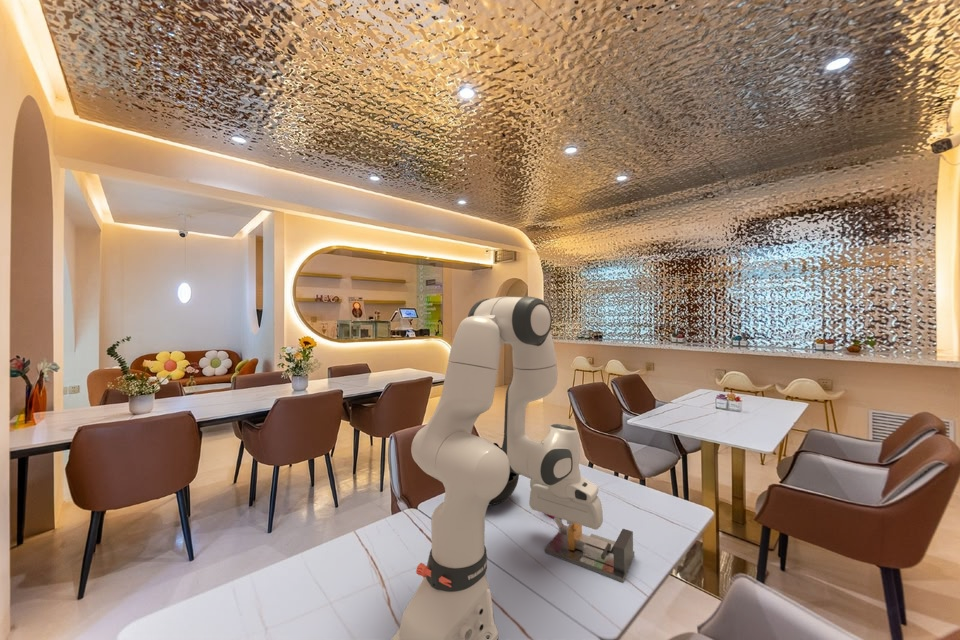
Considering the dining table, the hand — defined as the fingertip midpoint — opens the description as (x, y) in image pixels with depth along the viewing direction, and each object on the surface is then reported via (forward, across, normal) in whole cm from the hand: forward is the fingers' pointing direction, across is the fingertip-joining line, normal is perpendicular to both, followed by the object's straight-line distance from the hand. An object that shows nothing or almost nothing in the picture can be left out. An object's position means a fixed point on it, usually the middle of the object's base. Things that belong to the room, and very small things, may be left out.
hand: (564, 533), depth 101 cm
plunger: (+2, +8, -2) cm, 8 cm away
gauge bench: (+3, +6, 0) cm, 7 cm away
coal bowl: (+3, -31, +9) cm, 32 cm away
